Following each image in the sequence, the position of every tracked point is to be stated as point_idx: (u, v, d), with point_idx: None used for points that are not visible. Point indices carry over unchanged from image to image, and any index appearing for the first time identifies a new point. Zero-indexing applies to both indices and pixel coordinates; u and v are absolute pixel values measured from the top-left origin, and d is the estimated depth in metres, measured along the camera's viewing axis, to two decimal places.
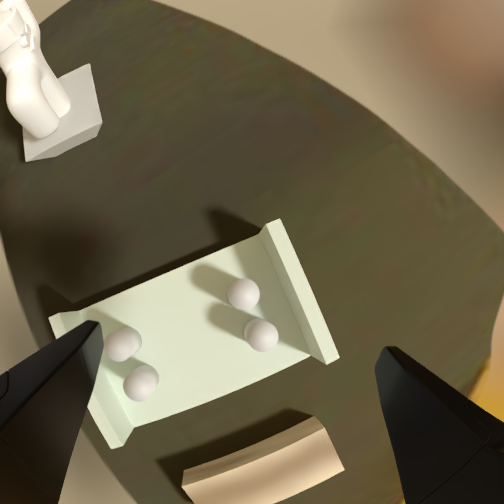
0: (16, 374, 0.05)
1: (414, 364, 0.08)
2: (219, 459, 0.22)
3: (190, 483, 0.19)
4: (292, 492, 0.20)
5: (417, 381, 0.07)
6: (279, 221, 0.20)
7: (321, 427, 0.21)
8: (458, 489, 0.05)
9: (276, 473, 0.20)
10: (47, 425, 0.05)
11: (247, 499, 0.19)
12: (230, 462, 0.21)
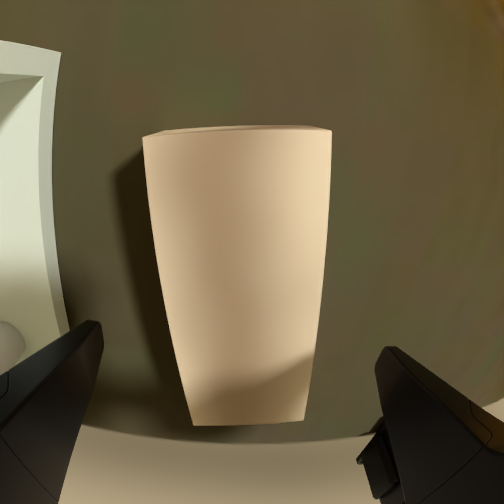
0: (16, 374, 0.05)
1: (414, 364, 0.08)
2: None
3: (191, 414, 0.13)
4: (311, 283, 0.10)
5: (417, 381, 0.07)
6: None
7: None
8: (458, 489, 0.05)
9: (227, 293, 0.10)
10: (47, 425, 0.05)
11: (271, 364, 0.11)
12: None
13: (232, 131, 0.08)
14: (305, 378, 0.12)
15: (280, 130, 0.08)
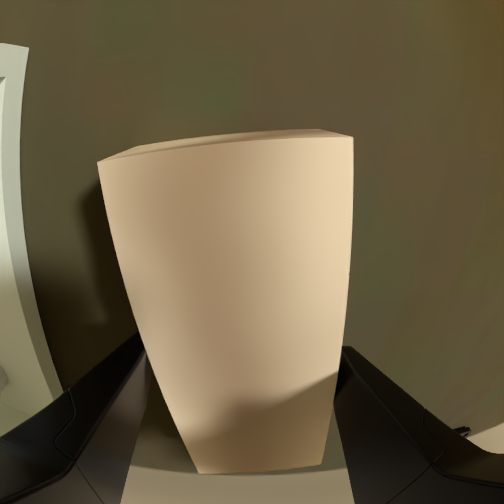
0: (79, 393, 0.05)
1: (366, 366, 0.08)
2: None
3: None
4: (329, 333, 0.08)
5: (366, 385, 0.07)
6: None
7: None
8: None
9: (225, 351, 0.08)
10: (113, 444, 0.05)
11: (283, 418, 0.09)
12: None
13: (215, 145, 0.06)
14: (322, 428, 0.09)
15: (282, 140, 0.06)
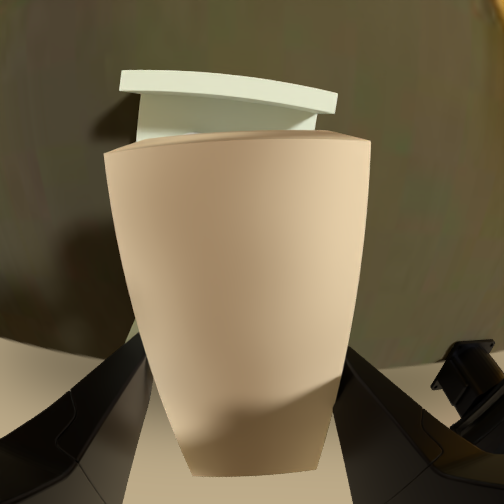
0: (81, 394, 0.05)
1: (365, 366, 0.08)
2: None
3: (189, 467, 0.10)
4: (335, 339, 0.07)
5: (364, 385, 0.07)
6: (124, 72, 0.12)
7: None
8: None
9: (227, 354, 0.07)
10: (116, 444, 0.05)
11: (282, 423, 0.09)
12: None
13: (229, 142, 0.05)
14: (321, 434, 0.09)
15: (299, 140, 0.05)
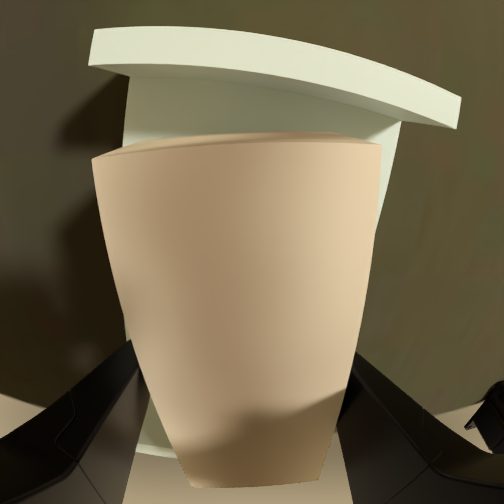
0: (81, 394, 0.05)
1: (365, 366, 0.08)
2: None
3: (188, 478, 0.10)
4: (340, 353, 0.07)
5: (364, 385, 0.07)
6: (99, 32, 0.06)
7: None
8: None
9: (227, 370, 0.07)
10: (116, 444, 0.05)
11: (283, 437, 0.08)
12: None
13: (228, 145, 0.05)
14: (323, 446, 0.09)
15: (305, 143, 0.05)
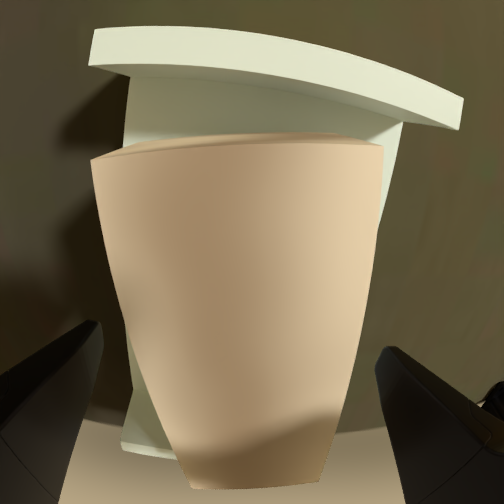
0: (16, 374, 0.05)
1: (414, 364, 0.08)
2: None
3: (189, 480, 0.10)
4: (341, 356, 0.07)
5: (417, 381, 0.07)
6: (99, 32, 0.06)
7: None
8: (458, 489, 0.05)
9: (227, 373, 0.07)
10: (47, 425, 0.05)
11: (284, 439, 0.08)
12: None
13: (229, 147, 0.05)
14: (324, 448, 0.09)
15: (306, 145, 0.05)
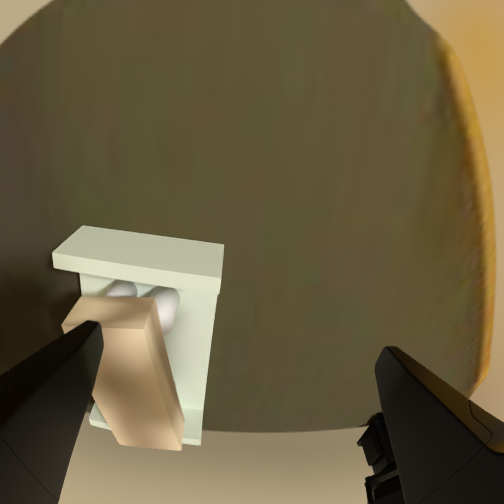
0: (16, 374, 0.05)
1: (413, 364, 0.08)
2: None
3: (117, 438, 0.20)
4: (154, 389, 0.17)
5: (417, 381, 0.07)
6: (54, 254, 0.16)
7: None
8: (458, 489, 0.05)
9: (115, 388, 0.17)
10: (47, 425, 0.05)
11: (148, 420, 0.18)
12: None
13: None
14: (170, 429, 0.19)
15: (118, 328, 0.15)
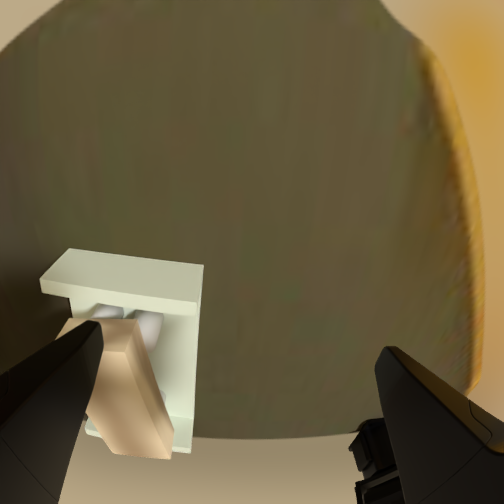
0: (16, 374, 0.05)
1: (414, 364, 0.08)
2: None
3: (110, 447, 0.20)
4: (140, 404, 0.17)
5: (417, 381, 0.07)
6: (41, 280, 0.16)
7: None
8: (458, 489, 0.05)
9: (104, 403, 0.17)
10: (47, 425, 0.05)
11: (137, 432, 0.19)
12: None
13: None
14: (158, 440, 0.19)
15: None
